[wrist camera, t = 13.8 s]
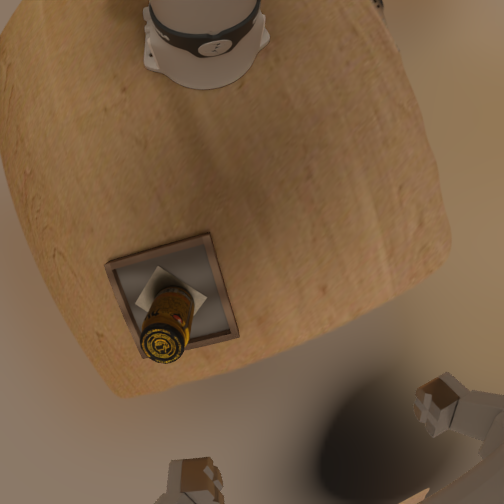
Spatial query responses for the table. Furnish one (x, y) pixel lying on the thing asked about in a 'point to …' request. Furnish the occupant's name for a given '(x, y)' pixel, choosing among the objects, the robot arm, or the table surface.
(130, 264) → the square wooden tray
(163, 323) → the condiment
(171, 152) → the table surface
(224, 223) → the table surface
